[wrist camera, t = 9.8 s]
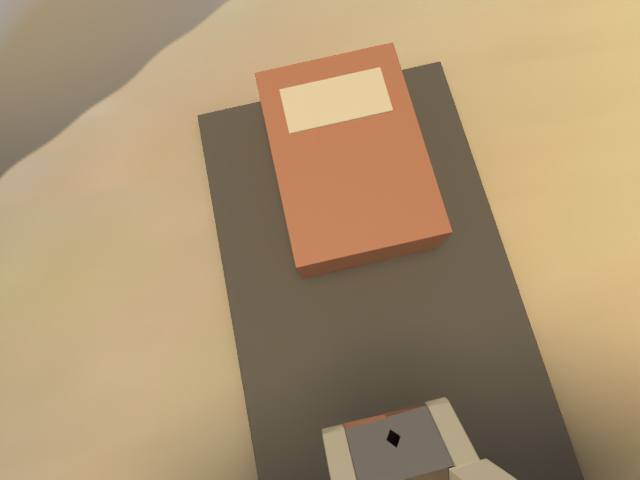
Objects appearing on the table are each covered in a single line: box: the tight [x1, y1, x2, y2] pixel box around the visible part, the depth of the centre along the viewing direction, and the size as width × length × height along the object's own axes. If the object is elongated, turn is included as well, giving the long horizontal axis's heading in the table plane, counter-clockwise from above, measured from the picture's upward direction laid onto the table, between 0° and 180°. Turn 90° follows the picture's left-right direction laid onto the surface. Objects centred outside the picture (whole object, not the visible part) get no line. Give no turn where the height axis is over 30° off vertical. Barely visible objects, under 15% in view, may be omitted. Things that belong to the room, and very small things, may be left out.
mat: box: [198, 62, 584, 480], centre depth 22 cm, size 22×14×1 cm, turn 13°
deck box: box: [255, 43, 452, 279], centre depth 22 cm, size 3×7×10 cm
